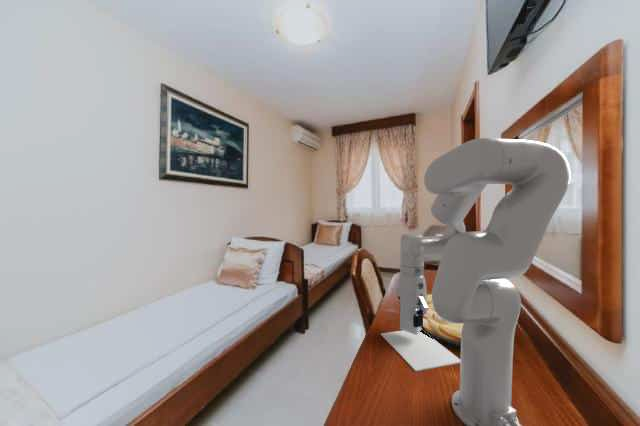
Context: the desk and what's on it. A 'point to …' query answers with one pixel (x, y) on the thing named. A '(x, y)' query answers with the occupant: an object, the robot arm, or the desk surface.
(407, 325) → the skincare box
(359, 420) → the desk surface
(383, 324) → the desk surface
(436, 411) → the desk surface
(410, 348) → the white mat
